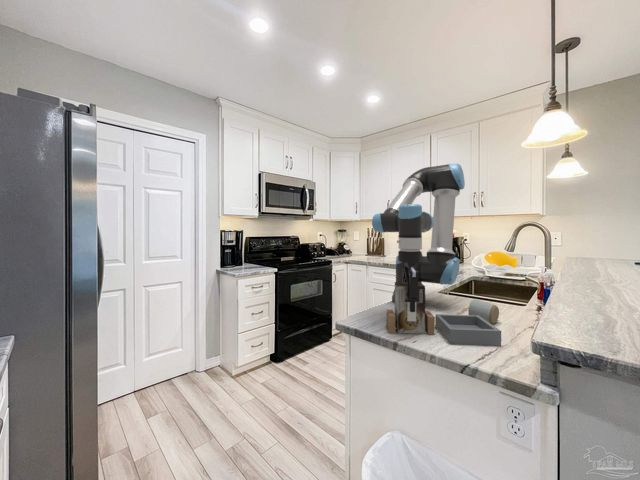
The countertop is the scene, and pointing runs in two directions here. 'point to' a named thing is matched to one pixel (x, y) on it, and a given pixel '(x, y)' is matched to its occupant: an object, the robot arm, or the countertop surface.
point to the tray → (467, 330)
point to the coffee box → (401, 309)
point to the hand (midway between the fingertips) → (409, 317)
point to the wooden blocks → (428, 322)
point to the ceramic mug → (484, 310)
